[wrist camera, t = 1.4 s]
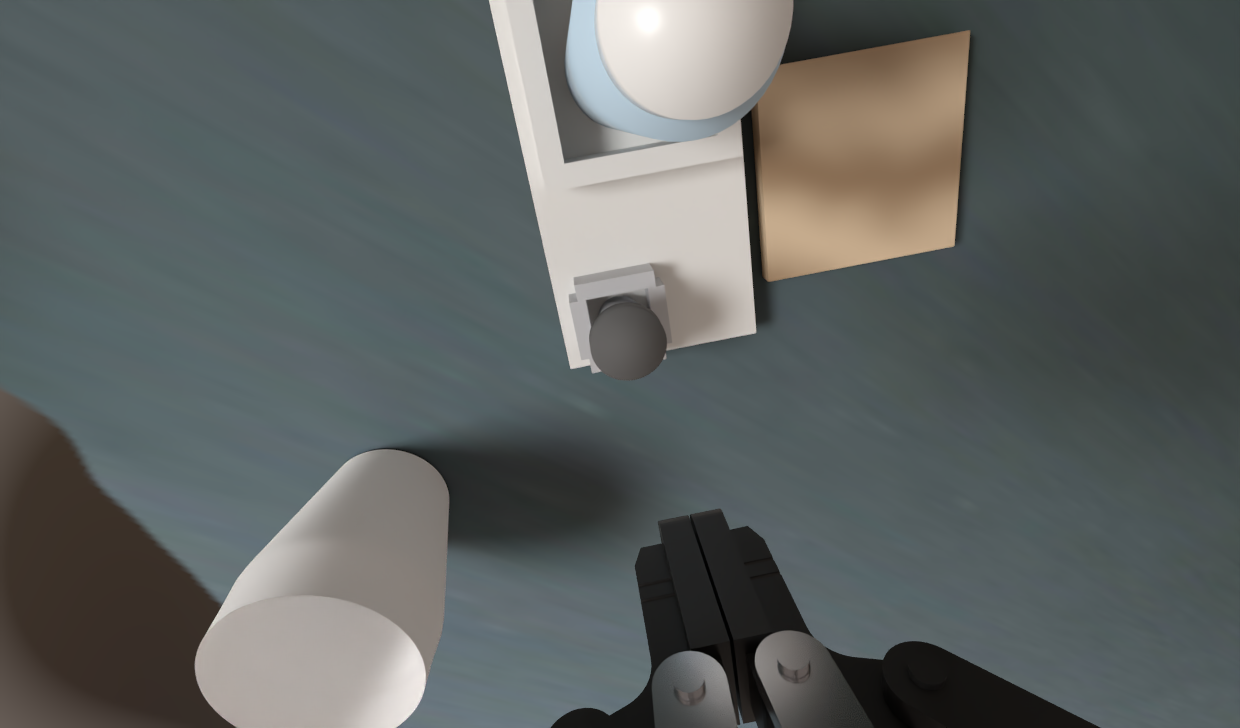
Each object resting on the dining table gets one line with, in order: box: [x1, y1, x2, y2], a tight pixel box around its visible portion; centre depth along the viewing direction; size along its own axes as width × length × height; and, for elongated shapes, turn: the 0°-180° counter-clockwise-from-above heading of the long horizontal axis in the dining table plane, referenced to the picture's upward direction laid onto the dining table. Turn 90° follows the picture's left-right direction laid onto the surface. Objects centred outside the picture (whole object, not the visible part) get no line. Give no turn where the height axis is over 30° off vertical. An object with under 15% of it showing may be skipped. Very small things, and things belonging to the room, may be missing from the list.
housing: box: [489, 0, 756, 373], centre depth 26 cm, size 18×10×4 cm, turn 9°
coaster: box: [751, 30, 970, 282], centre depth 29 cm, size 10×10×1 cm
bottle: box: [564, 0, 793, 142], centre depth 18 cm, size 5×5×14 cm
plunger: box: [589, 296, 667, 380], centre depth 27 cm, size 3×3×4 cm
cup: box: [195, 449, 449, 728], centre depth 29 cm, size 9×9×12 cm
